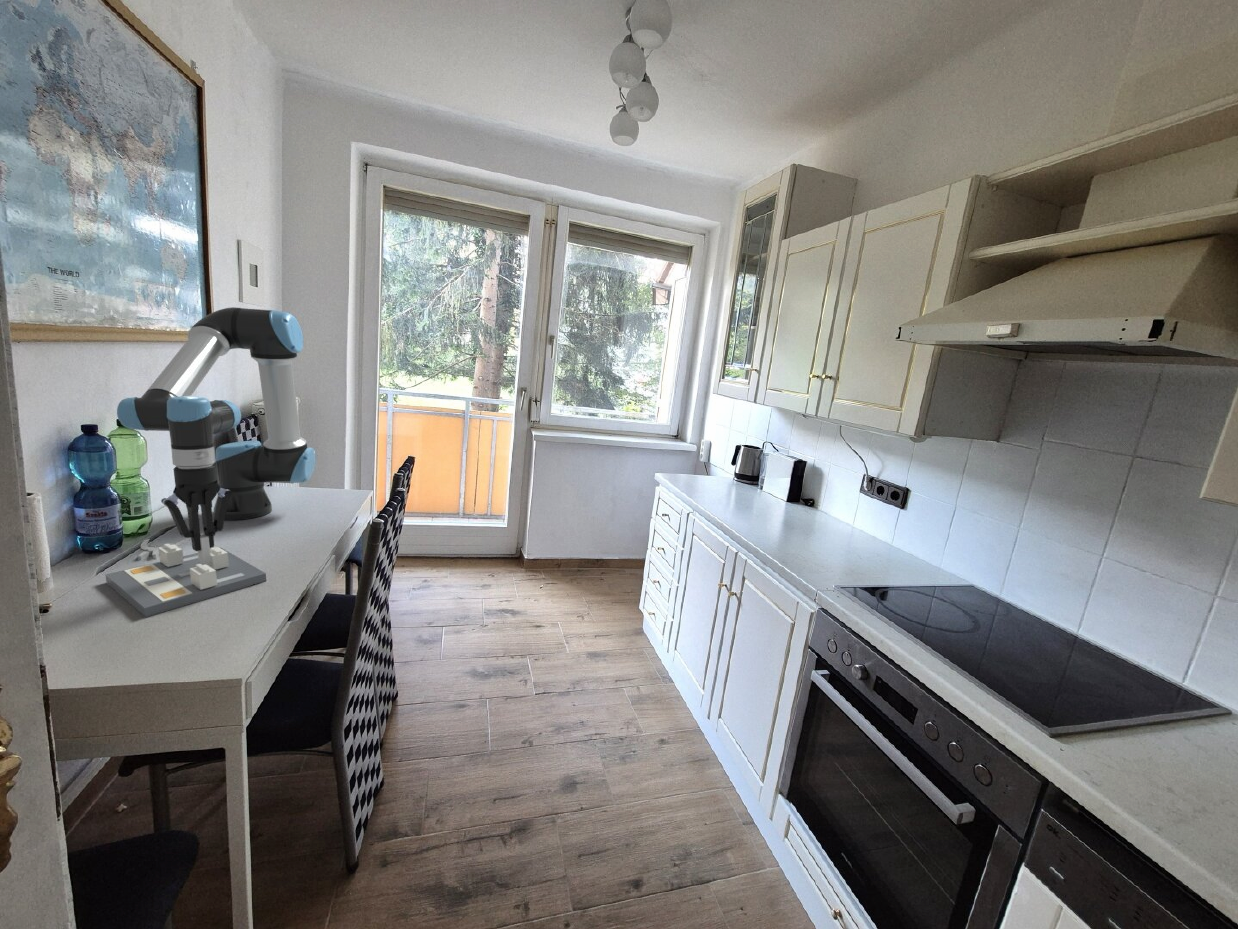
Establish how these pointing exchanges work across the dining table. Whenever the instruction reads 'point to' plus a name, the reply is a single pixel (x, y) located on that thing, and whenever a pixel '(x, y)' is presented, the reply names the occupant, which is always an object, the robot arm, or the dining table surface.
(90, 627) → the dining table surface
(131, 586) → the switch bank
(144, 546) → the pliers
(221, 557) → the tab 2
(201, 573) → the white plastic block
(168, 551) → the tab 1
